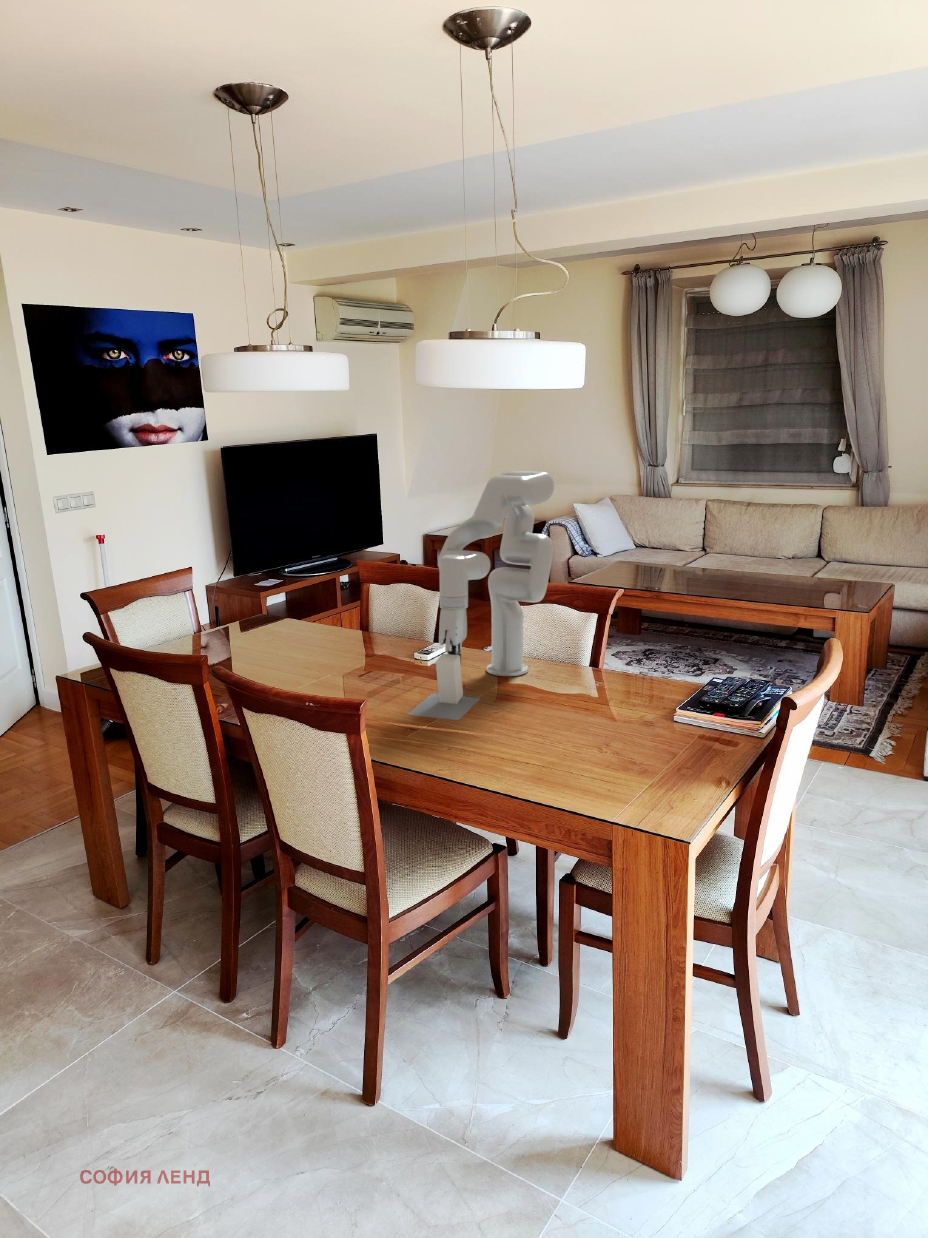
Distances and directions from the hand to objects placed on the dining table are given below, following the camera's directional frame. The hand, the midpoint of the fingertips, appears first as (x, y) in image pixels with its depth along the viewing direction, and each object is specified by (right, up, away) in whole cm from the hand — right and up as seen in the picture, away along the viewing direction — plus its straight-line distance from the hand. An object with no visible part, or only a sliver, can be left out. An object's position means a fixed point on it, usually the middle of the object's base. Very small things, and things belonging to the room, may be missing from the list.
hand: (454, 667), depth 229 cm
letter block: (-1, -8, -1) cm, 8 cm away
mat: (-3, -10, -5) cm, 12 cm away
